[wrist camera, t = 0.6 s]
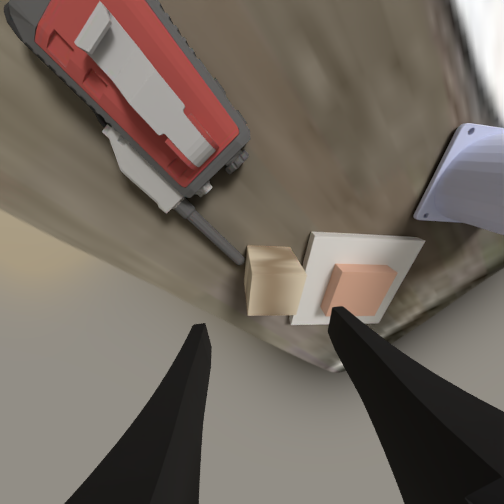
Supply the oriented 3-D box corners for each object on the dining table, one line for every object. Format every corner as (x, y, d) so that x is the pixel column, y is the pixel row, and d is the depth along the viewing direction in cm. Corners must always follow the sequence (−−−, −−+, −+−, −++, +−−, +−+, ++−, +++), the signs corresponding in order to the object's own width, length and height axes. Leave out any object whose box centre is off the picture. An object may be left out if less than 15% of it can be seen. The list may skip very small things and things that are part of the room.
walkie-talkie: (13, 60, 12) (234, 262, 20) (-94, 17, 8) (235, 289, 16) (93, -88, 10) (303, 208, 18) (0, -248, 6) (322, 224, 14)
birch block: (289, 246, 19) (307, 275, 15) (282, 281, 22) (296, 315, 17) (247, 245, 19) (252, 273, 15) (243, 280, 21) (247, 315, 17)
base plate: (417, 236, 20) (439, 247, 18) (373, 317, 26) (386, 332, 24) (310, 231, 19) (321, 242, 17) (288, 318, 24) (294, 335, 22)
